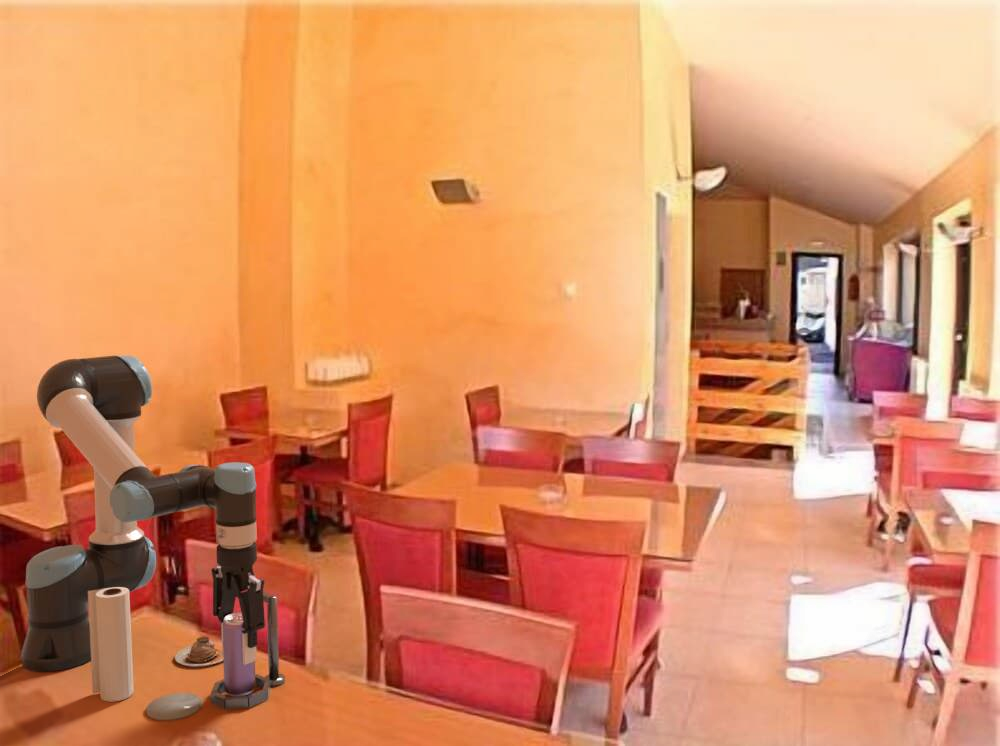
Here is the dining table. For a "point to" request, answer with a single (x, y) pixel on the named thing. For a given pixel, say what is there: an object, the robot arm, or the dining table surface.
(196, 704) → the coaster
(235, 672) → the beverage can
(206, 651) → the pastry
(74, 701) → the dining table surface
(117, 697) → the paper towel roll
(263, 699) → the stand
